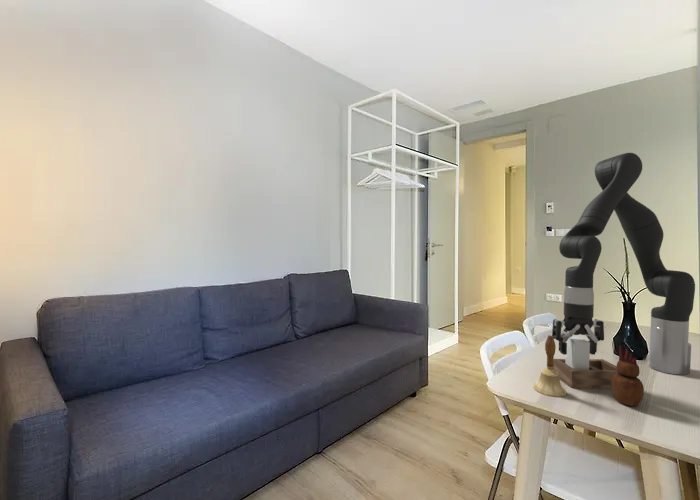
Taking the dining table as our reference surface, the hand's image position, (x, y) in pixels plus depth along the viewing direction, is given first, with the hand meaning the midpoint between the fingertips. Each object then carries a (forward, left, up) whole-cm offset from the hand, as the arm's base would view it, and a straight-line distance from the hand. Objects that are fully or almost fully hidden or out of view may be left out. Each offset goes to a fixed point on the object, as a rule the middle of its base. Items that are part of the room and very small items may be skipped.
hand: (577, 353), depth 103 cm
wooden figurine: (-4, +14, -9) cm, 17 cm away
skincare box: (0, 0, -8) cm, 8 cm away
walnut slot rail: (-3, 0, -9) cm, 9 cm away
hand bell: (+12, +7, -9) cm, 16 cm away
